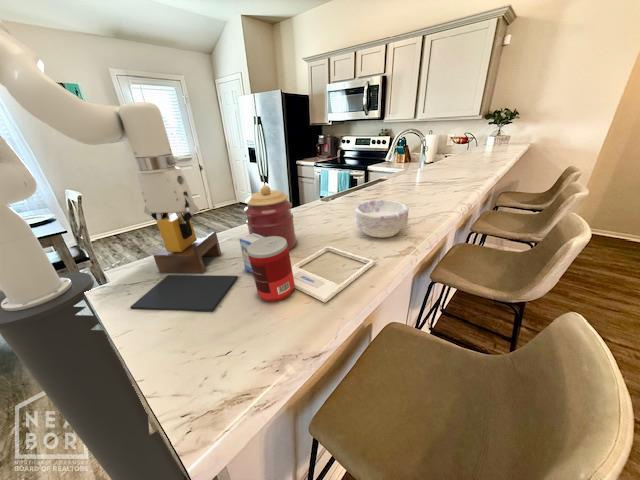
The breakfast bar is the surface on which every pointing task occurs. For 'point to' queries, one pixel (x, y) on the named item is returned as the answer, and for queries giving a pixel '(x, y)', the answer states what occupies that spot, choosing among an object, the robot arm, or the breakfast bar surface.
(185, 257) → the shelf stand
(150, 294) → the counter mat
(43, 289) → the robot arm
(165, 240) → the tea packet
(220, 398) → the breakfast bar surface
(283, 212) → the kitchen canister
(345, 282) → the photo frame
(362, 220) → the white purple bowl
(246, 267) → the medicine box
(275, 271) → the canned food
